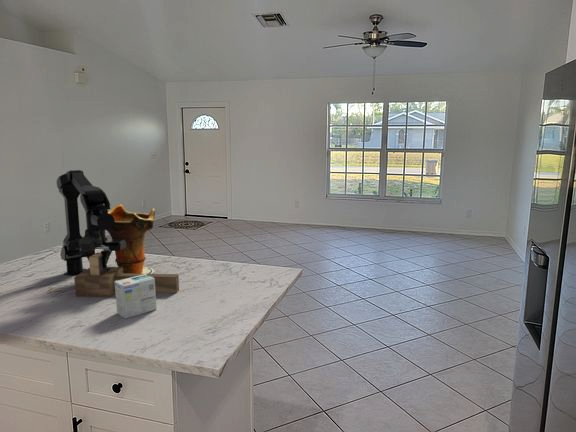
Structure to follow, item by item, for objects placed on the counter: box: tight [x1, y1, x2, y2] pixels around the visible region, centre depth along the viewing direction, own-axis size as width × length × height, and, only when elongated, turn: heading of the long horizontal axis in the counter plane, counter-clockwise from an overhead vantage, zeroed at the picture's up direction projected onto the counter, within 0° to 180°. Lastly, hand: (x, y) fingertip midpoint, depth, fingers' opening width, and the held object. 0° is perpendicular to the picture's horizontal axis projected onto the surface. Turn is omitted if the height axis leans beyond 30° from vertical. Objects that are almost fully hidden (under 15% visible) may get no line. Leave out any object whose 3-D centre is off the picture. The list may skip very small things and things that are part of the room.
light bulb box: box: [114, 274, 158, 320], centre depth 134 cm, size 11×7×11 cm, turn 135°
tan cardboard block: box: [88, 251, 108, 276], centre depth 151 cm, size 6×4×8 cm, turn 178°
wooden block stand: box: [73, 266, 180, 298], centre depth 152 cm, size 12×34×7 cm, turn 88°
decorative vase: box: [106, 203, 156, 274], centre depth 170 cm, size 21×23×28 cm
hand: (99, 268), depth 152 cm, fingers closed on tan cardboard block, 3 cm apart
